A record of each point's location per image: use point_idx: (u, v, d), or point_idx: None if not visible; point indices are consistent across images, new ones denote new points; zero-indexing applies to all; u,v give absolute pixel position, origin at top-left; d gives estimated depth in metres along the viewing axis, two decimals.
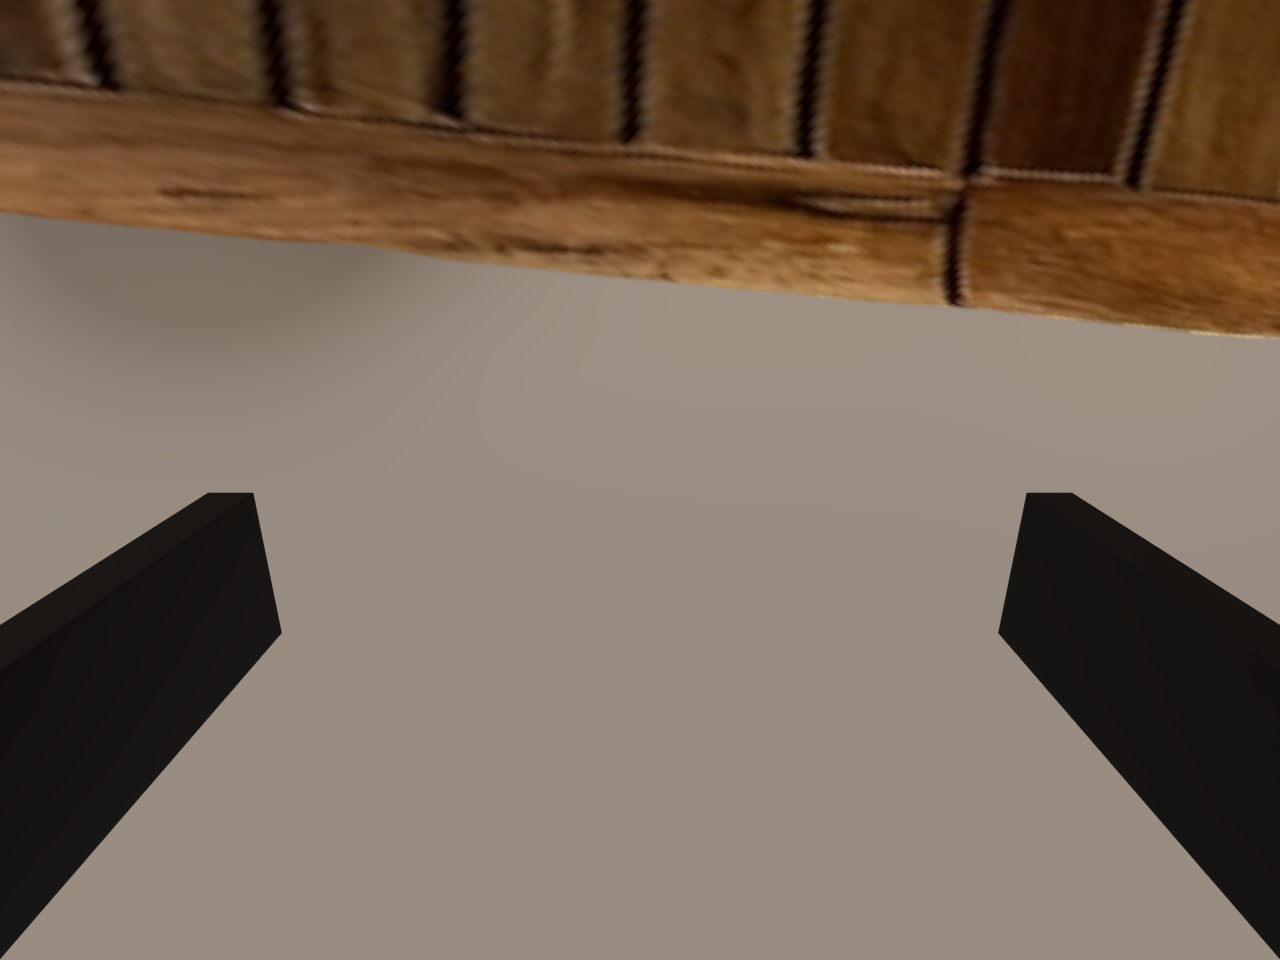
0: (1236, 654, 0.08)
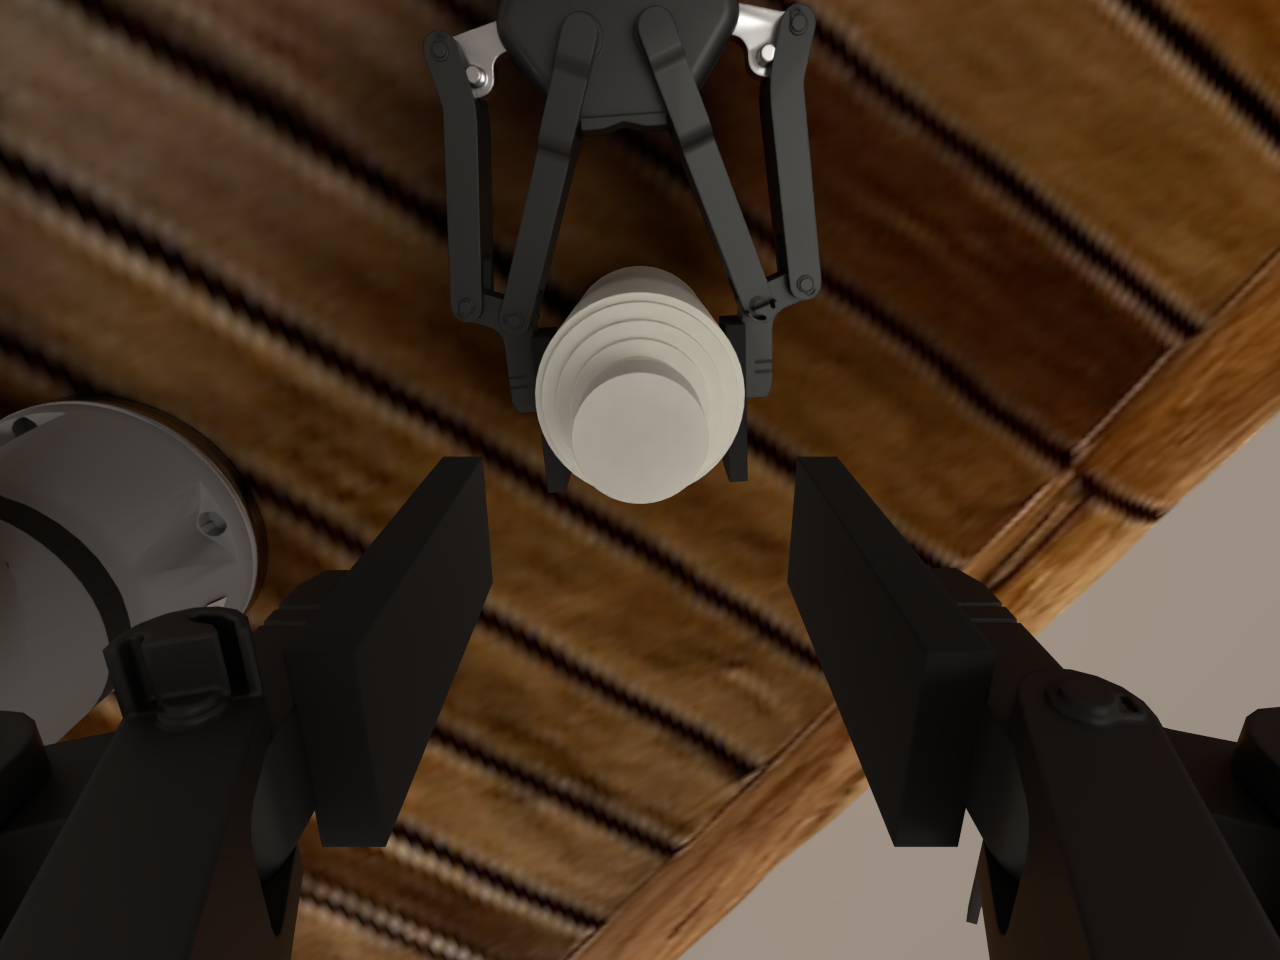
0: (865, 571, 0.09)
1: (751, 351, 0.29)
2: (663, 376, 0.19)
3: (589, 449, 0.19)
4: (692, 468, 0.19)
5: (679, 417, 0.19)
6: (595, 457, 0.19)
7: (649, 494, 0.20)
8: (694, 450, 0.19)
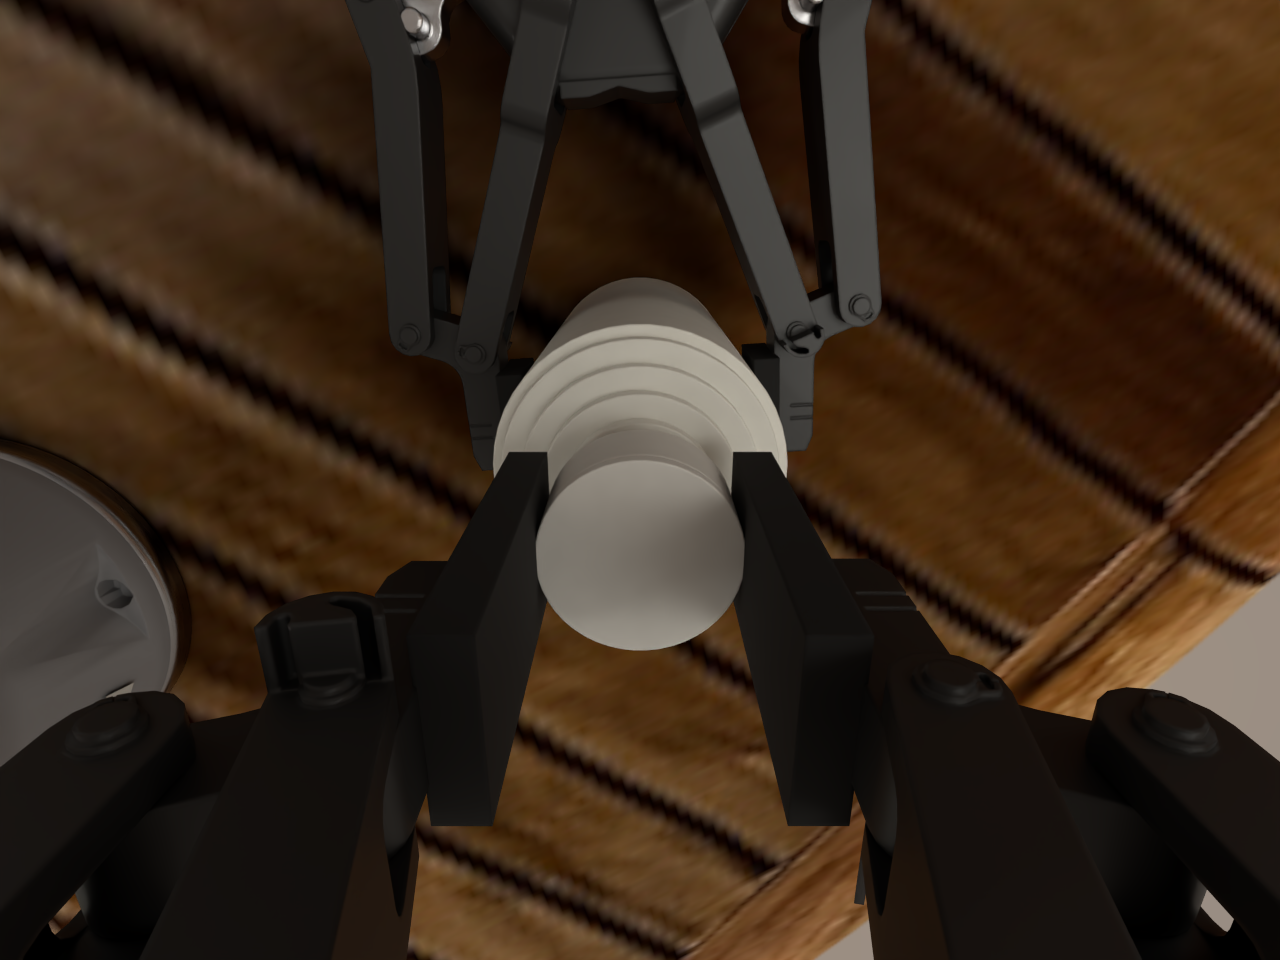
0: (771, 561, 0.10)
1: (785, 392, 0.22)
2: (676, 466, 0.12)
3: (562, 573, 0.12)
4: (720, 600, 0.13)
5: (701, 527, 0.12)
6: (571, 585, 0.13)
7: (654, 637, 0.13)
8: (723, 575, 0.12)
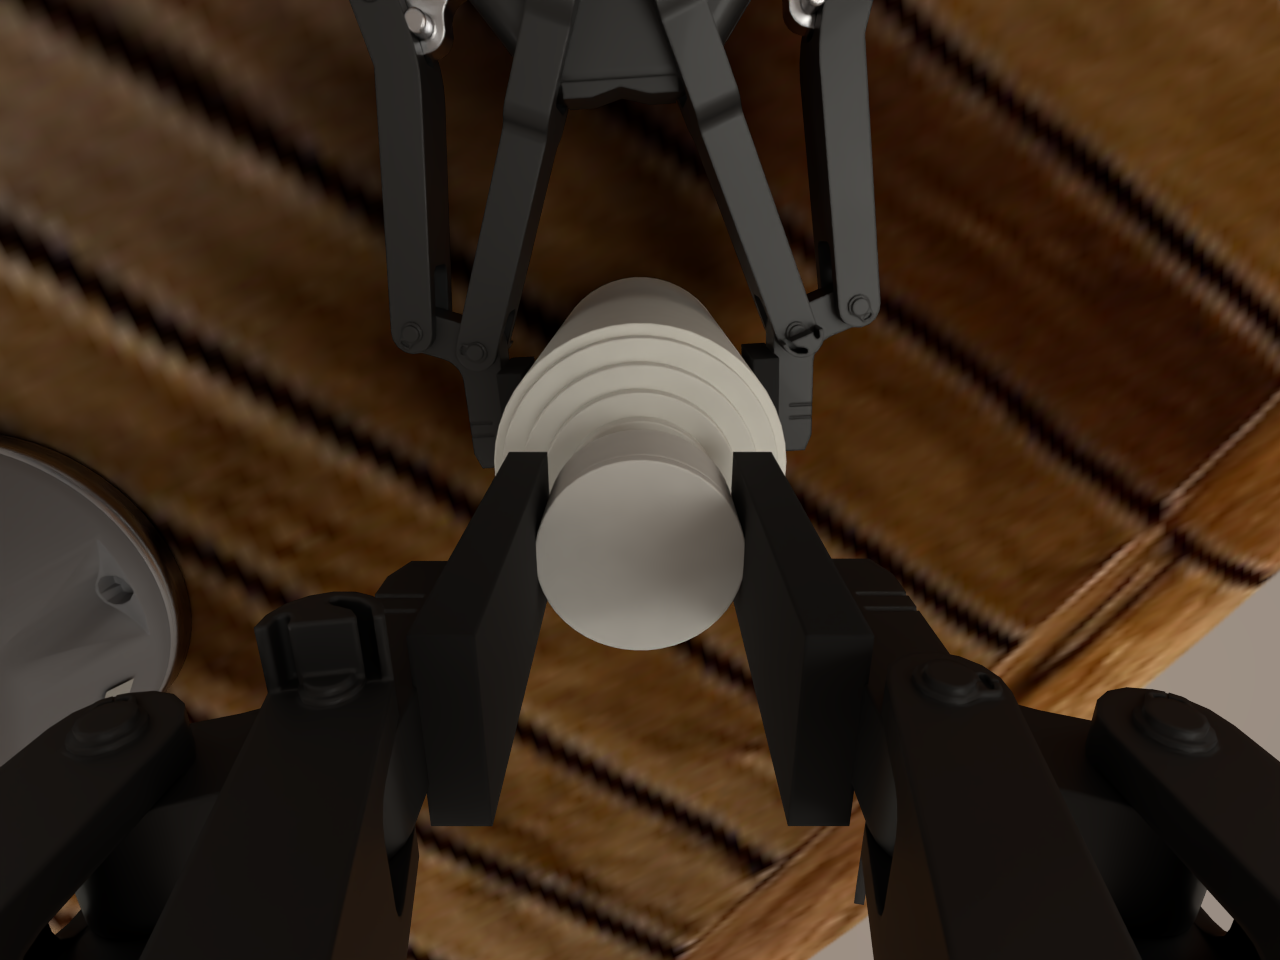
0: (771, 561, 0.10)
1: (785, 391, 0.22)
2: None
3: (683, 618, 0.13)
4: (650, 472, 0.12)
5: (581, 523, 0.12)
6: (691, 606, 0.13)
7: (718, 515, 0.12)
8: (620, 482, 0.12)
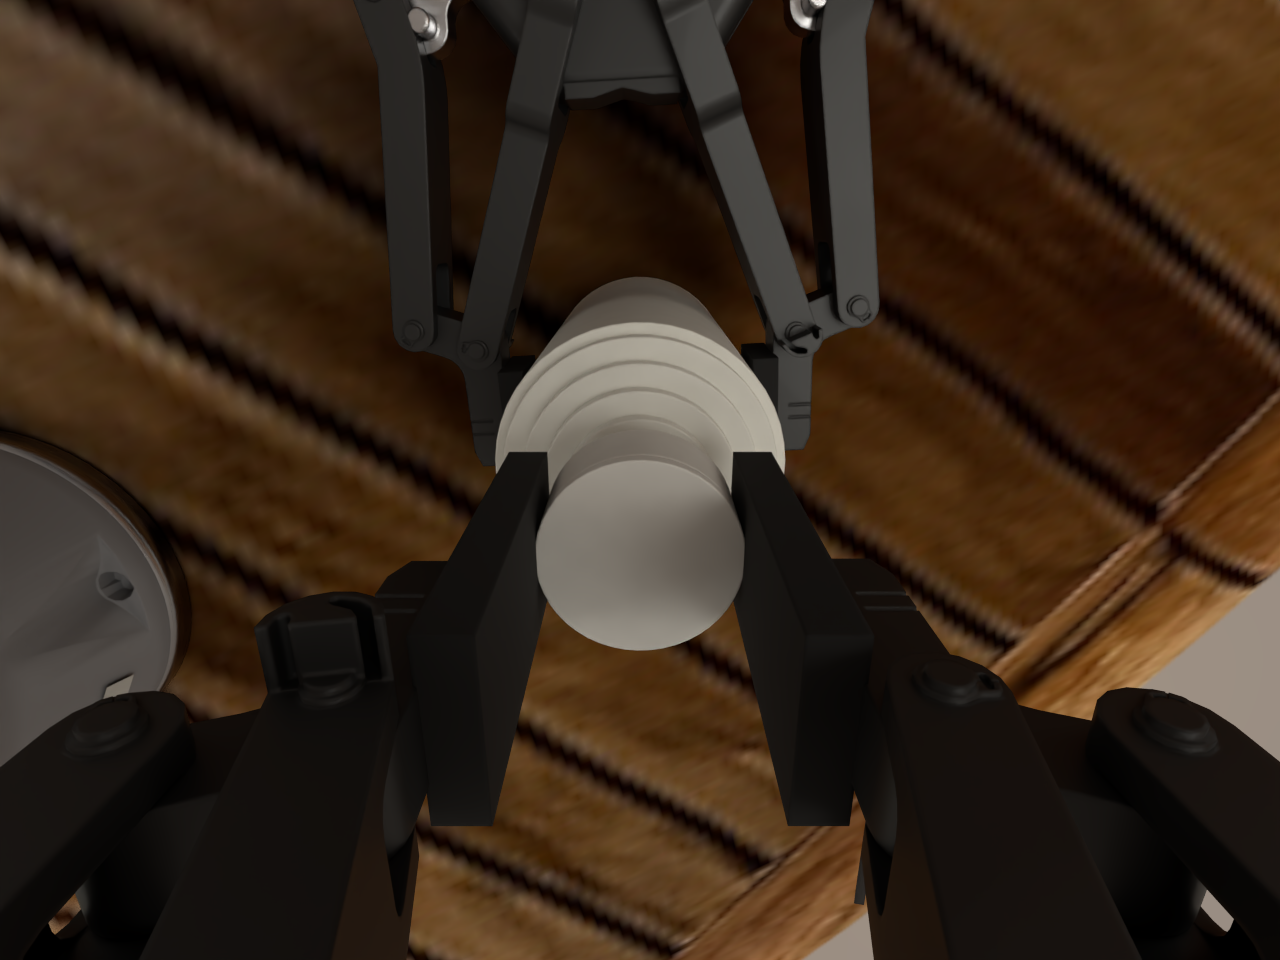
0: (771, 561, 0.10)
1: (784, 391, 0.22)
2: (686, 639, 0.13)
3: (684, 498, 0.12)
4: (551, 585, 0.13)
5: (626, 620, 0.13)
6: (668, 496, 0.12)
7: (563, 514, 0.12)
8: (572, 604, 0.13)
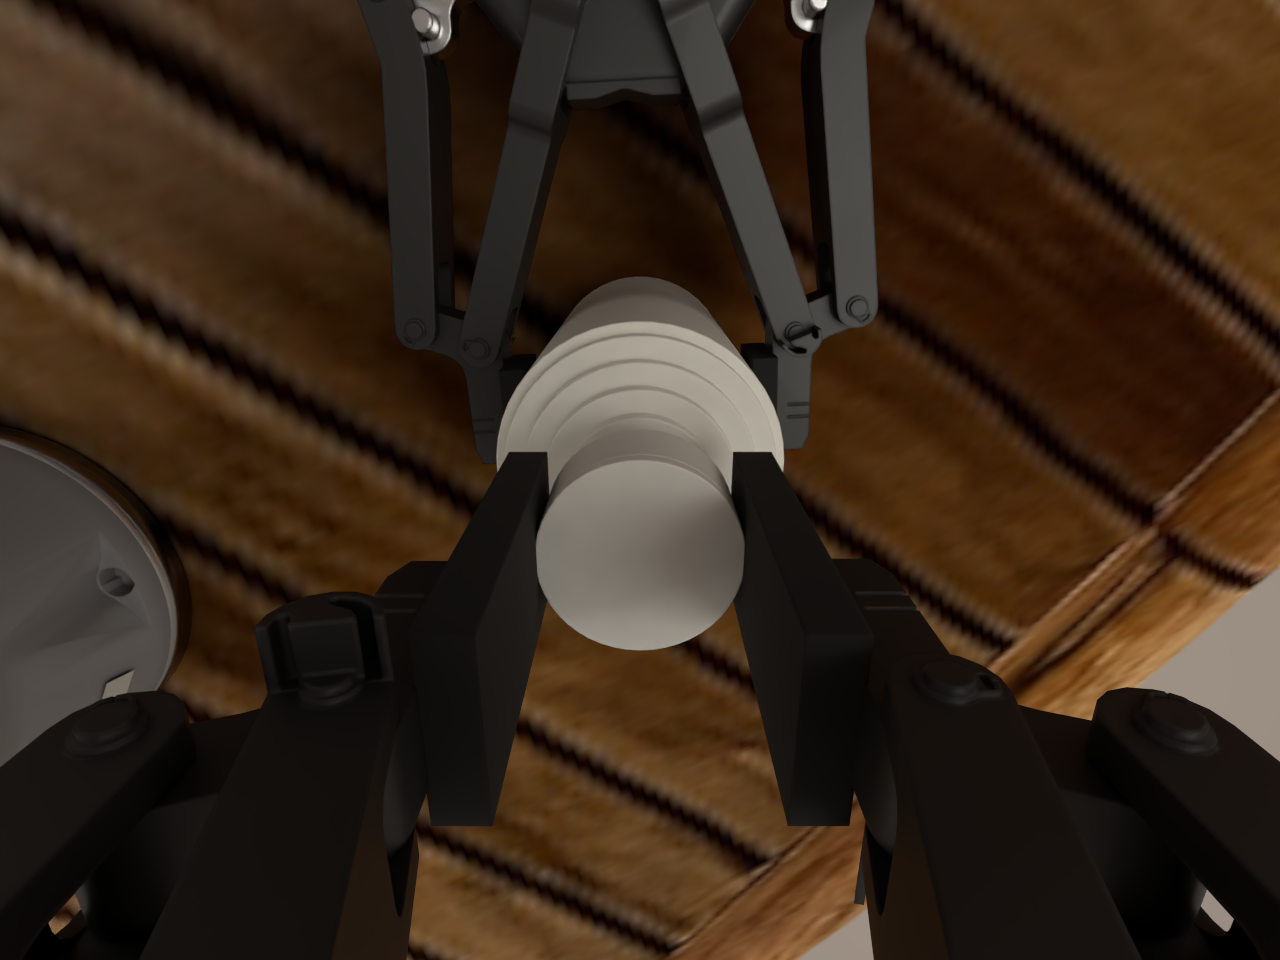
0: (771, 561, 0.10)
1: (783, 391, 0.22)
2: (709, 483, 0.12)
3: (561, 548, 0.12)
4: (699, 621, 0.13)
5: (709, 547, 0.12)
6: (565, 562, 0.12)
7: (624, 637, 0.13)
8: (712, 599, 0.13)
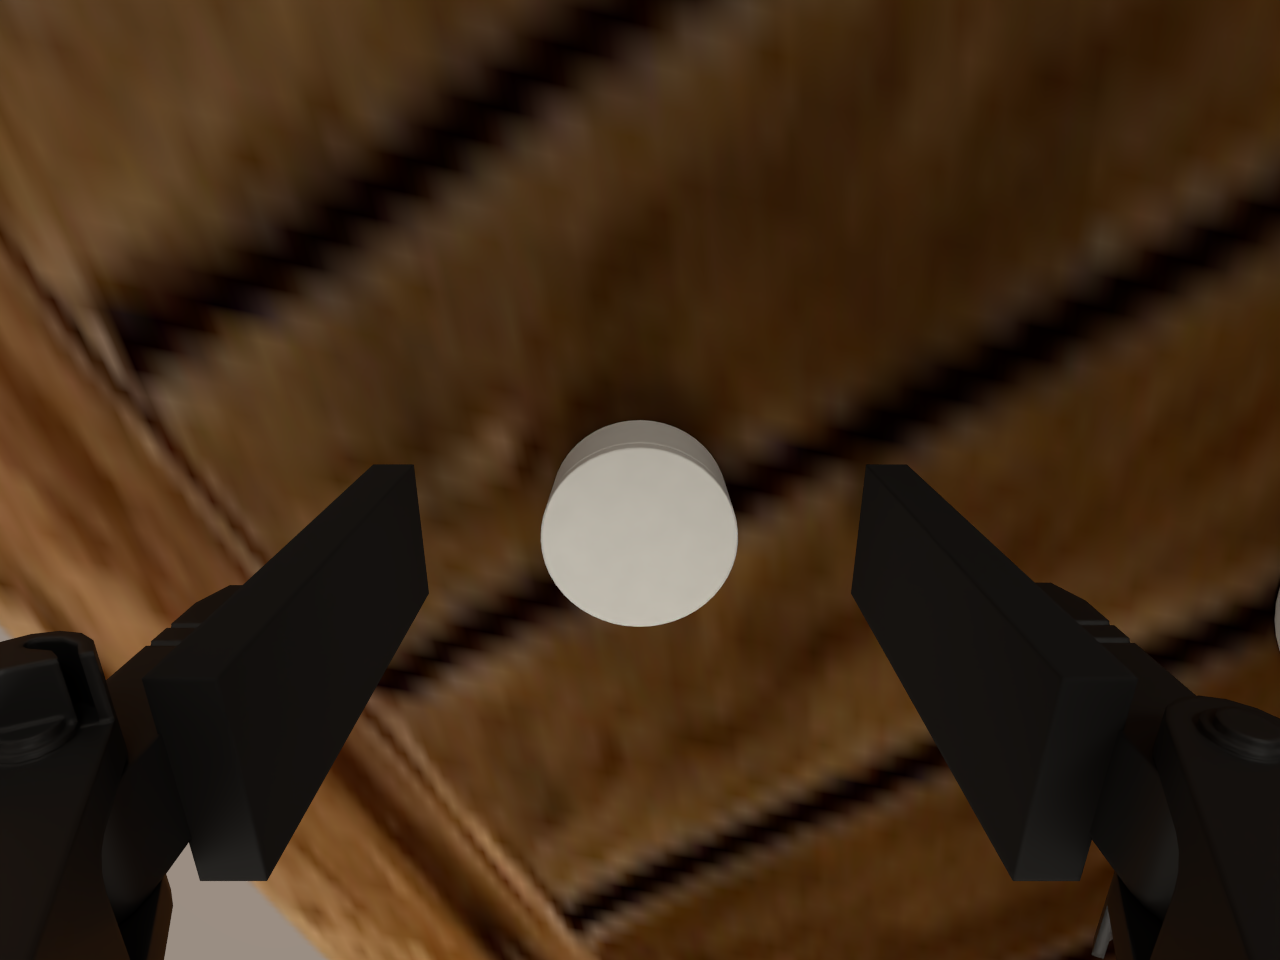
0: (969, 589, 0.09)
1: None
2: (703, 469, 0.13)
3: (565, 531, 0.13)
4: (694, 599, 0.14)
5: (704, 529, 0.13)
6: (569, 543, 0.13)
7: (624, 614, 0.14)
8: (706, 578, 0.14)
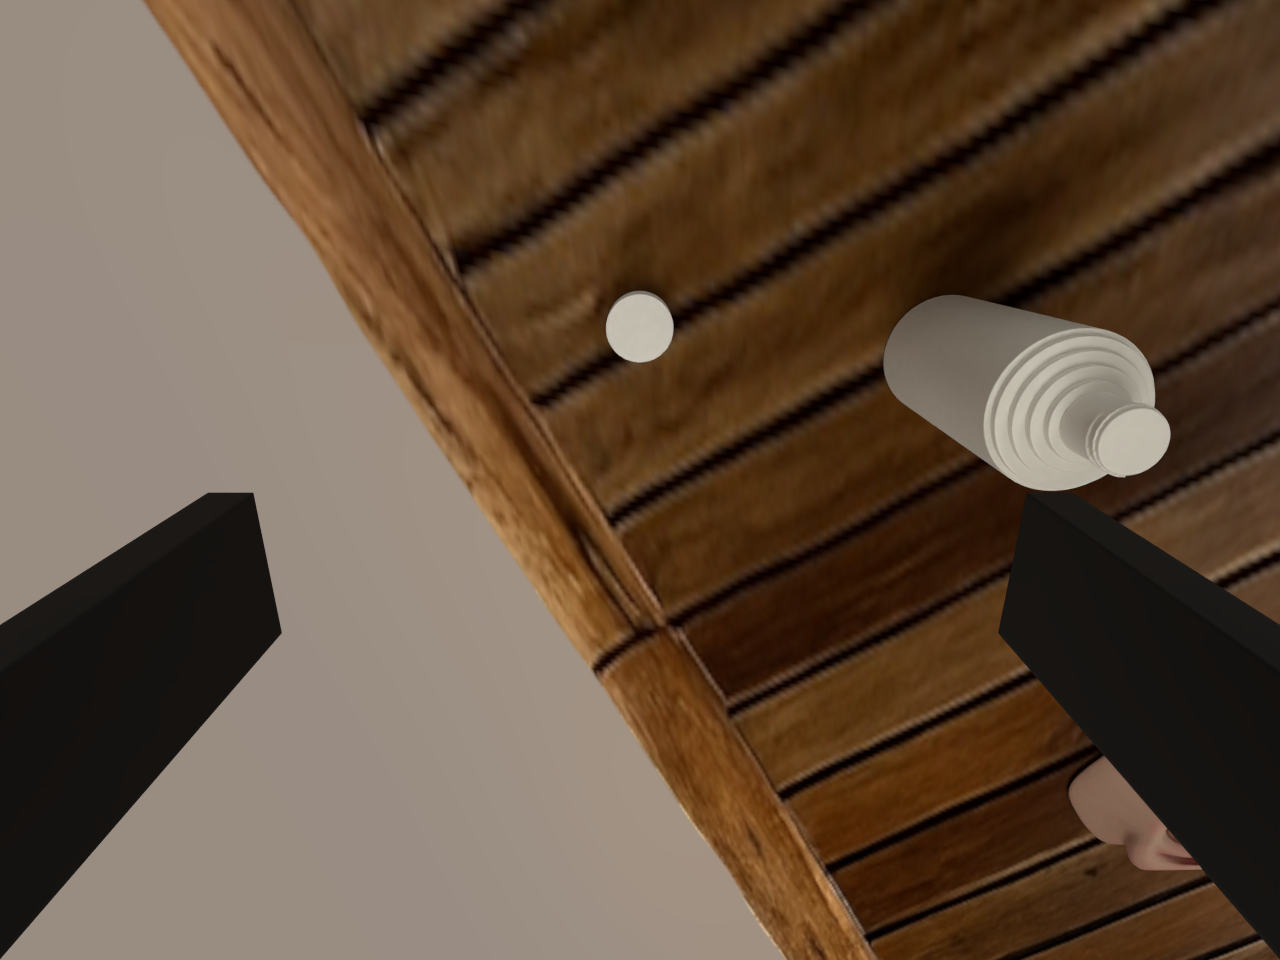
0: (1237, 654, 0.08)
1: None
2: (661, 302, 0.38)
3: (614, 324, 0.39)
4: (659, 351, 0.39)
5: (661, 324, 0.39)
6: (616, 329, 0.39)
7: (634, 357, 0.39)
8: (663, 342, 0.39)
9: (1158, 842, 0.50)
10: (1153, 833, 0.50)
